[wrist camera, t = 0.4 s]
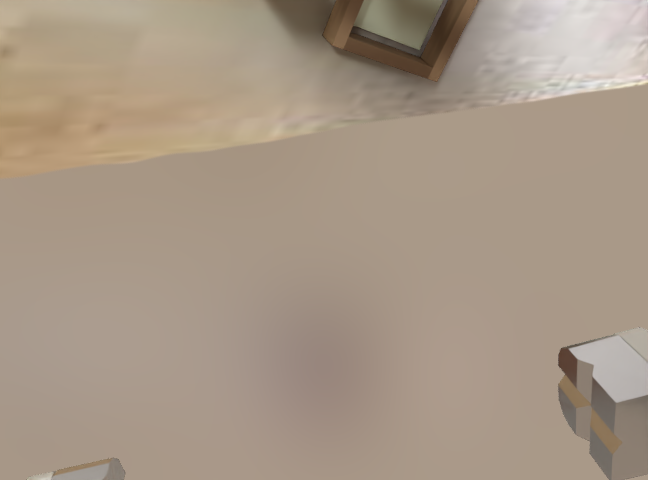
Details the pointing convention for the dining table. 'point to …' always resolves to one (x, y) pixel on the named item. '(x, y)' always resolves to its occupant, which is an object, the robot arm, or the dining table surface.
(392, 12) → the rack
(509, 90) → the dining table surface
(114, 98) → the dining table surface
